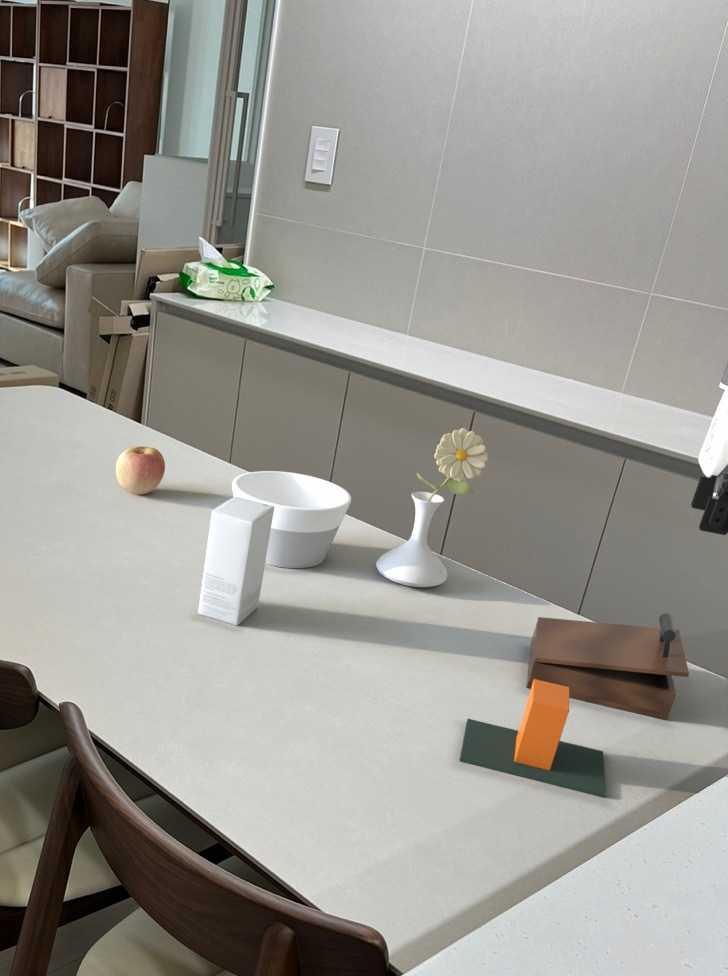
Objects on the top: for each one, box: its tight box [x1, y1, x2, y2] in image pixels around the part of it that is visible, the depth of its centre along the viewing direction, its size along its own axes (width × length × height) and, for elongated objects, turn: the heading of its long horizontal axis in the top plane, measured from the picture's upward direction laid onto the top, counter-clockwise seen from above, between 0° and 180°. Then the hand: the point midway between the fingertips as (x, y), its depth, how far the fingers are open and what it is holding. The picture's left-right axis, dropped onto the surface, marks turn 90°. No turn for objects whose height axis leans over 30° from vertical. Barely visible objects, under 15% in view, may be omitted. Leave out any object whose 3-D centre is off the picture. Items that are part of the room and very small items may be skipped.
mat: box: [459, 718, 606, 798], centre depth 123 cm, size 16×10×1 cm, turn 72°
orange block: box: [514, 679, 570, 770], centre depth 121 cm, size 4×6×8 cm, turn 162°
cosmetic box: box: [197, 495, 274, 626], centre depth 147 cm, size 8×7×16 cm
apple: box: [115, 445, 166, 495], centre depth 192 cm, size 9×9×8 cm
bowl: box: [231, 470, 352, 569], centre depth 172 cm, size 19×19×11 cm
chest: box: [526, 620, 677, 721], centre depth 143 cm, size 18×15×4 cm
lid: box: [535, 612, 690, 678], centre depth 140 cm, size 18×15×4 cm
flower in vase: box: [375, 427, 489, 588], centre depth 164 cm, size 13×11×25 cm
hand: (707, 520), depth 131 cm, fingers open, 9 cm apart
